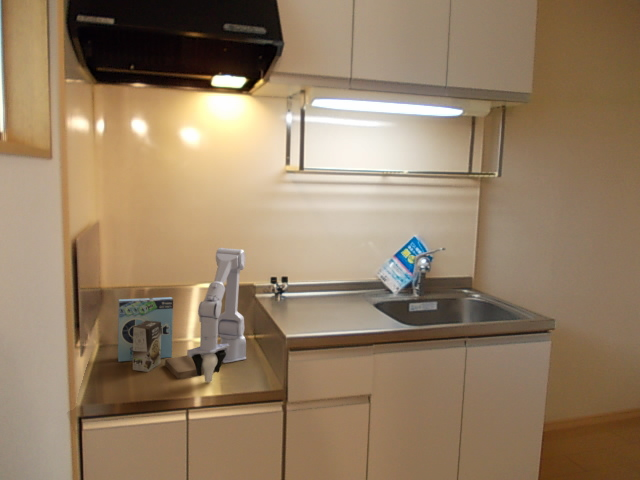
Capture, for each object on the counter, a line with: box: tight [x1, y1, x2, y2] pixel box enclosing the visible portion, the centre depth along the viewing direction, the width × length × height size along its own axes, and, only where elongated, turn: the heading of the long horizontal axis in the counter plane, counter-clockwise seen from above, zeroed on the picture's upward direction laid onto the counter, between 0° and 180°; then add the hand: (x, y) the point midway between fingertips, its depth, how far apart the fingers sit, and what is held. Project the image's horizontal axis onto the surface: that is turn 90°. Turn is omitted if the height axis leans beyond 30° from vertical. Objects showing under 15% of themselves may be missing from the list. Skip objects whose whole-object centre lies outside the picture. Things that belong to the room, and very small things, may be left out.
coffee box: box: [132, 321, 162, 373], centre depth 184 cm, size 9×6×16 cm
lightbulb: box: [201, 353, 218, 383], centre depth 174 cm, size 6×6×11 cm
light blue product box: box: [117, 296, 174, 363], centre depth 192 cm, size 20×5×23 cm, turn 113°
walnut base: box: [164, 354, 217, 380], centre depth 185 cm, size 14×14×2 cm
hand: (208, 373), depth 174 cm, fingers closed on lightbulb, 6 cm apart
